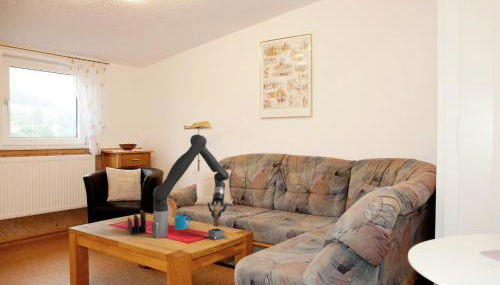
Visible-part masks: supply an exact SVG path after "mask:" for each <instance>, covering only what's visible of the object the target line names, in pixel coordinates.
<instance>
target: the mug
mask: <svg viewBox="0 0 500 285" xmlns="http://www.w3.org/2000/svg"><path fill="white" fill-rule="evenodd" d="M187 219H188V223H187ZM190 223H191V219H190V218H189V217H187V216H186V215H176V216H174V229H175V230H185V229H186V228H187V227H188V226H189V225H190Z"/></svg>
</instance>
